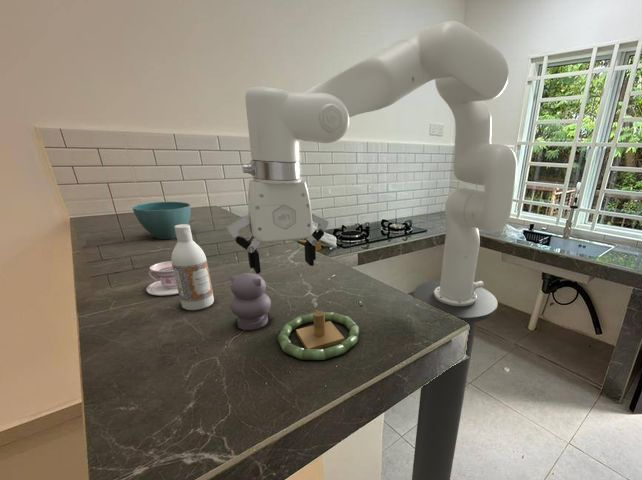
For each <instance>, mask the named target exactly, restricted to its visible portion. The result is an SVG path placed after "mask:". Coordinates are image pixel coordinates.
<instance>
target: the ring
mask: <svg viewBox="0 0 642 480" xmlns="http://www.w3.org/2000/svg"><path fill="white" fill-rule="evenodd" d="M323 312H324V313H325V322H328V321H331V322H334V323H337V324H339V325H343V326H345V327H346V328H347V330H348V331H349V332H348V333H349V334H348V337H347V338H345V340H344V341H343V342H342V343H339V344H336V345H332V346H329V347H325V348H322V349H305V348H303V347H301V346H298V345H295V344H293V342H292V341H291V340H290V336H291V334H292V332H293V331H294V330H297V329H298V328H299V327H301V326H302V325H306V324H310V323H313V313H314V312H311V313H307V314H303V315H299V316H297V317H295V318H294V319H292V320H290V321H288V322H286V323H285V324H283V326H282V328H281V330H280V332H279V334H278V335H277V342H278V343H279V346H280V347H281V349H282V351H283V353H285V354H287V355H289V356H291V357H294V358H297V359H299V360H302V361H304V360H305V361H307V360H308V361H325V360H328V359H331V358H332V359H333V358H335V357H338V356H341V355H343V354H346V353H347V352H348V351H349V350H350V349H351V348H353V347H354V346H355V345H356V344H357V343H358V341H359V336H360V335H359V334H360V327H359V325H357V323H356V322H354V320H353V319H352V318H351V317H349V316H346V315H343V314H340V313H338V312H329V311H328V312H327V311H326V312H325V311H323Z"/></svg>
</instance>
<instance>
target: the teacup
mask: <svg viewBox="0 0 642 480" xmlns="http://www.w3.org/2000/svg"><path fill="white" fill-rule="evenodd" d="M146 272H147V273H148V276H149V277H150V278H151V279H153V280H154V282H152V283H150V284H149V285H148V286H146V289H145V291H146V293H147V294H149V295H151V296H160V297H164V296H174V295H179V292H178V288H177V284H176V280H175V275H174V271H173V267H172V261H171V260H168V261H162V262H158V263H155V264H153V265H152V264H151V266H149V269H148V270H146ZM152 273H154V274H156V276H157V277H158V278H159V279H158V278H156V277H155V276H153V274H152Z"/></svg>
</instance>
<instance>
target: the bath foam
mask: <svg viewBox="0 0 642 480" xmlns="http://www.w3.org/2000/svg"><path fill="white" fill-rule="evenodd" d="M175 232H176V236H177V238H176V240H177V242H176V243H175V246H174V247H173V250H172V252H171V259H170V261H172V267H173V271H174V275H175V280H176V284H177V288H178V292H179V294H178V296H179V301H180V304H181V307H182V309H184V310H187V311H199V310H203V309H206V308H209V307H211V305H213V304H214V302H215V297H214V291H213V287H212V281H211V276H210V269H209V265H208V260H207V257H206V254H205V252H204V250H203V249H202V248H201V246H200V245H199V244H197V243H196V242H195V241H194V240H193V234H192V230H191V226H190V224H188V225H187V224H180V225H176V226H175Z"/></svg>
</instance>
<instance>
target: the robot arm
mask: <svg viewBox="0 0 642 480" xmlns="http://www.w3.org/2000/svg"><path fill="white" fill-rule="evenodd" d="M509 74H510V71H509V65H508V62H507V59H506V58H505V56H504V54H503V53H502V52H501V51H500V50H499V49H498V48H497V47H496V46H494V45H493V44H492V43H490V42H489V41H488V40H486V39H485V38H484V37H483V36H481V34H479V33H477V32H476V31H475V30H473V29H472V28H470V27H469V26H467V25H465V24H464V23H462V22H459V21H456V20H444V21H443V22H440V23H436V24H434V25H429V26H427V27H423V28H421V29H418V30H416V31H414V32H412V33H410V34H409V35H406V36H405V37H403V38H401V39H399V40H398V41H395V42H394V43H392V44H390V45H389V46H387V47H385V48H383V49H382V50H380V51H377V52H376V53H374V54H372V55H370V56H368V57H367V58H364V59H361V60H360V61H359V62H356V63H355V64H353V65H351V66H350V67H348V68H346V69H345V70H343V71H340V72H339V73H337V74H335V75H333V76H331V77H329V78H328V79H324V80H323V81H322V82H320V83H318V84H315V85H314V86H312V87H310V88H308V89H307V90H305V91H303V92H294V91H290V90H287V89H285V88H284V89H283V88H280V87H273V86H263V85H262V86H260V85H259V86H258V85H257V86H251V87H249V88H248V89H247V90H246V91H245V96H244V98H245V100H244V101H245V110H246V120H247V128H248V136H249V137H248V138H249V149H250V158H251V159H250V162H249V163H246V164H245V163H244V164H242V167H241V168H242V173H243V174H248V175H251V176H252V177H253V179H250V180H249V182H248V193H247V195H248V196H247V207H248V214H246V215H245V216H243V217H241V218H240V219H238V220H236V221H234V222H233V223H232V222H231V223H230V224H229V225H227V226H226V231H227V232H228V234H229V235H230V236H231V237H232V239H233V240H234V241H235V243H236V244H238V245H239V246H240V247H242V248H243V249H244V250H246V251H247V256H248V265H249V268H250V269H253V271H254V272H255V274H257V275H259V274H260V273H261V271H262V270H261V262H260V261H261V259H260V252H259V251H258V247H259V246H260V245H261V243H274V242H275V243H276V242H282V241H283V242H284V241H285V242H286V241H296V240H303V239H305V240H306V241H305V242H304V246H303V247H304V261H305V263H307V264H308V266H310V267H313V266H315V260H316V258H317V253H316V246H317V245H318V244H319V241H320V240H321V239H322V238H323V237H324V235H325V232H326V230H327V228H328V227H329V221H328V220H327V219H325V218H323V217H321V216H318V215H316V214H314V213H312V207H311V206H312V205H311V200H310V199H311V198H310V193H309V189H308V185H307V181H305V180H303V179H301V177H302V174H301V162H300V161H301V157H300V141H304V142H310V143H311V142H313V143H318V144H319V143H320V144H330V143H331V144H332V143H334V142H337V141H339V140H341V139H342V138H343V137H344V136H345V135H346V134H347V132H348V129H349V127H350V118H352V117H355V116H358V115H361V114H365V113H366V114H367V113H370V112H374V111H375V112H376V111H379V110H382V109H385V108H387V107H390V106H392V105H394V104H395V103H397V102H398V101H400V100H401V99H403V98H404V97H406V96H408V95H409V94H411V93H412V92H414V91H415V90H417V89H419V88H420V87H423V86H424V85H425V84H427V83H429V82H431V81H434V82H435V88H436V91H437V92H438V94H439V96H440V97H441V99H442V100H443V101H444V102H445V104H447V106H448V107H449V109H450V110H451V113H452V116H453V118H454V125H455V127H454V128H455V133H454V134H455V135H454V136H455V137H454V150H453V175H454V177H455V178H456V179H457V180H458V181H460V182H463V183H467V184H471V185H477V186H484V189H478V188H473V187H468V186H467V187H466V186H463V187H457V188H455V189H453V190H452V191H450V193H448V195H447V197H446V199H445V203H444V214H445V239H444V247H443V255H442V266H441V273H440V280H441V282H440V286H439V287H437V288H436V289H435V290H434V296H435V298H436V299H437V300H438V301H440V302H442V303H444V304H447V305H451V306H469V305H472V304H474V303H475V302H476V300H477V295H476V293H475V292H474V291H475V290H476V289H477V288H483V287H484V285H485V284H484V282H483V281H482V280H479V281H476V282H475V277H476V272H477V271H476V269H477V264H478V258H479V251H480V245H481V237H480V232H479V230H480V231H484V232H487V233H498V232H500V231H502V230H503V229H504V228H505V227H506V226H507V224H508V222H509V220H510V217H511V214H512V207H513V201H514V194H515V188H516V182H517V175H518V174H517V173H518V159H517V155H516V153H515V151H514V150H513V149H512V148H511V147H510V146H508V145H505V144H502V143H492V123H493V120H492V119H493V118H492V114H491V110H490V107H489V105H488V103H487V101H492V100H494V99H496V98H498V97H499V96H500V95H502V93H503V92H504V91H505V89H506V87H507V85H508V81H509ZM314 223H316V224H317V227H316V229H315V230H314V225H313V224H314ZM248 226H249V231H250V236H249V238H248V239H246V238H245V237H243V236H242V235H241V233H240V231H241V230H242V229H244V228H247V227H248Z"/></svg>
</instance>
